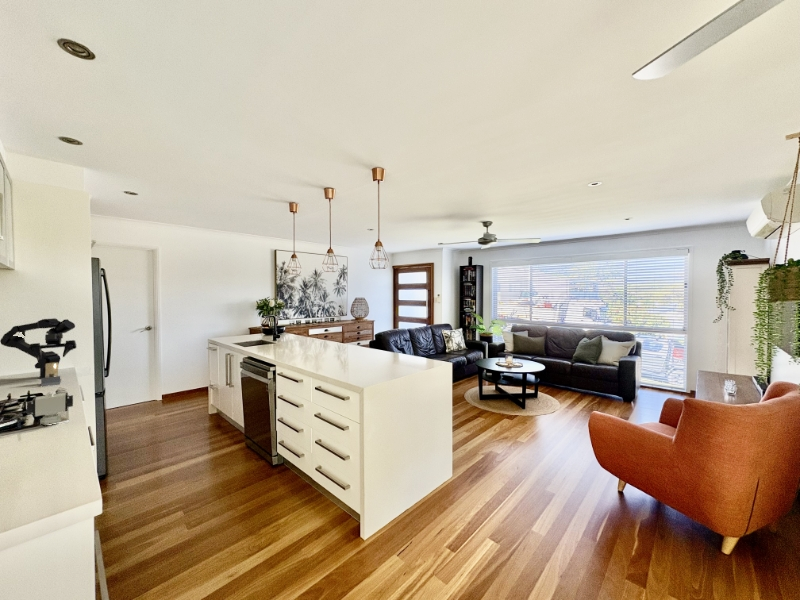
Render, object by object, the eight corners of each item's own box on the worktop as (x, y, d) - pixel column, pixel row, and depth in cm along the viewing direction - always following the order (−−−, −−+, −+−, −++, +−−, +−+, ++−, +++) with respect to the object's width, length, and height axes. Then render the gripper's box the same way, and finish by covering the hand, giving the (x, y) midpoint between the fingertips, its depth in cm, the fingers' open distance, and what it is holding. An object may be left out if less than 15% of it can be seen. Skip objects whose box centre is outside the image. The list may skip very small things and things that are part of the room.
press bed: (43, 383, 180) (43, 375, 180) (61, 381, 185) (61, 373, 185) (41, 386, 174) (41, 378, 174) (59, 384, 178) (59, 376, 178)
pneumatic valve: (72, 422, 124) (72, 391, 124) (26, 430, 115) (26, 397, 115) (72, 418, 128) (73, 388, 128) (28, 426, 119) (28, 394, 119)
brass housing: (45, 380, 180) (46, 363, 180) (58, 379, 183) (58, 362, 184) (44, 382, 177) (45, 364, 177) (57, 380, 180) (57, 363, 180)
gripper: (28, 330, 182) (24, 352, 175) (74, 327, 194) (72, 347, 186) (33, 341, 189) (29, 363, 181) (77, 337, 201) (75, 358, 193)
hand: (52, 358), depth 185 cm, fingers open, 9 cm apart
